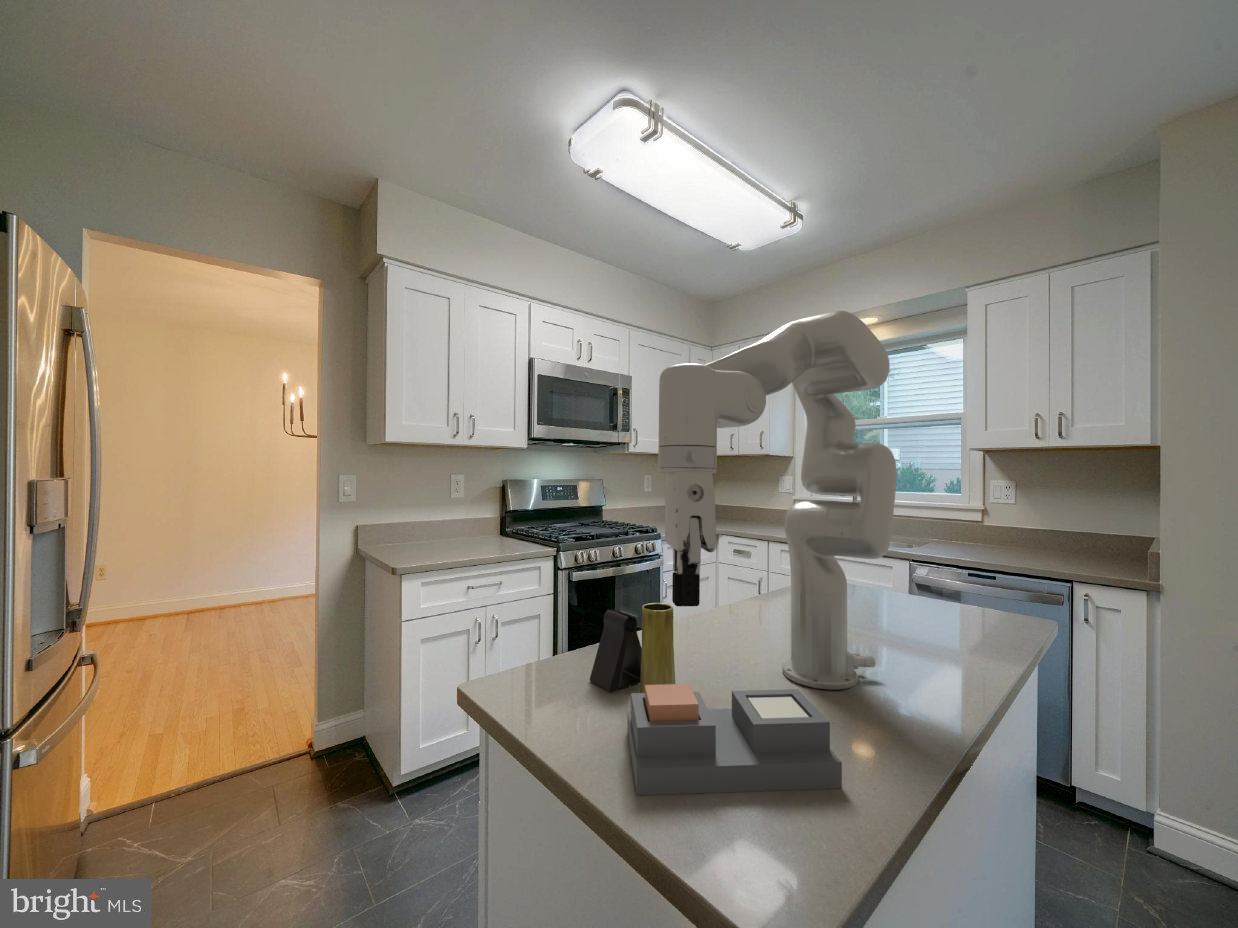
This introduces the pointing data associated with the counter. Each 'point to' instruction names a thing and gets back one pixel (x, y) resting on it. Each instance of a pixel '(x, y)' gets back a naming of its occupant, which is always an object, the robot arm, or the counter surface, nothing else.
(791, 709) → the ivory button
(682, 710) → the terracotta button
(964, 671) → the counter surface
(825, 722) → the button panel
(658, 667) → the vase
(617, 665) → the phone stand
